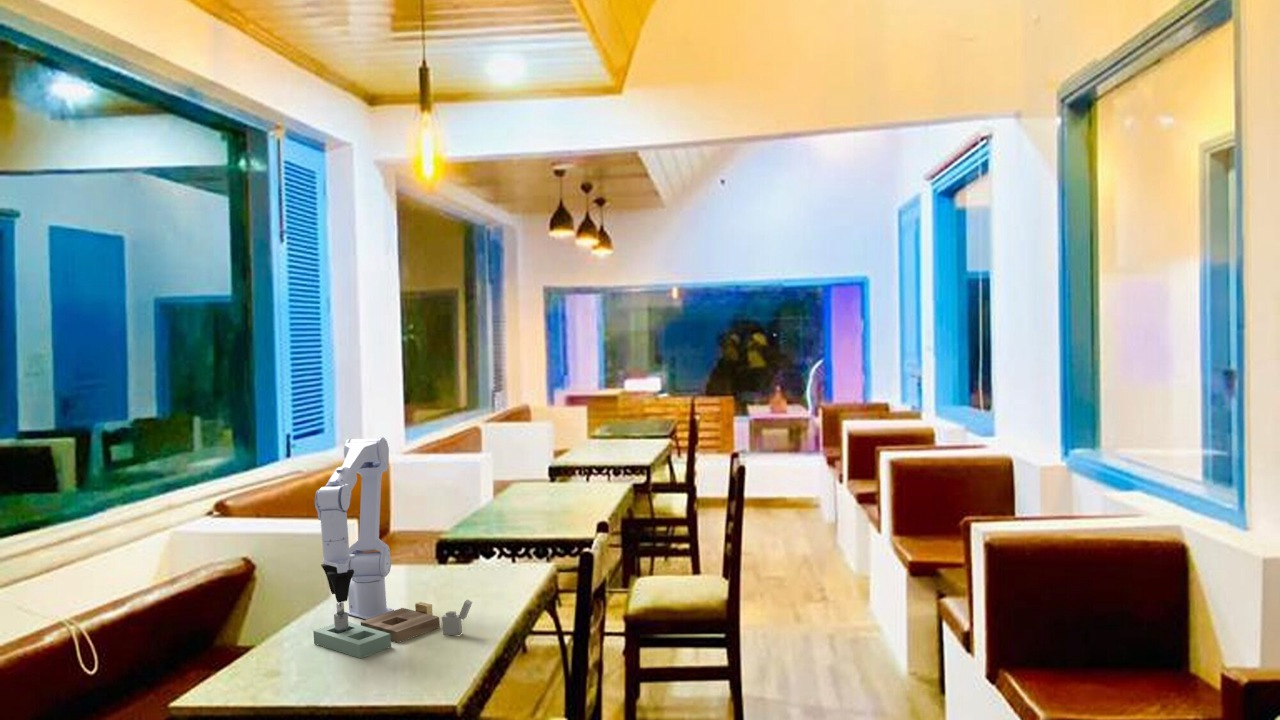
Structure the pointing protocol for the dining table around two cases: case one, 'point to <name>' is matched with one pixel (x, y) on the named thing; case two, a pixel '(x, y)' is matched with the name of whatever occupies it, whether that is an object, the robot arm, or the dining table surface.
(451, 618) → the lighter
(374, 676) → the dining table surface
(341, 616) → the grey stepped cylinder
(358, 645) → the drill rack
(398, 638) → the socket block
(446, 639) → the dining table surface
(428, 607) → the light wooden block
